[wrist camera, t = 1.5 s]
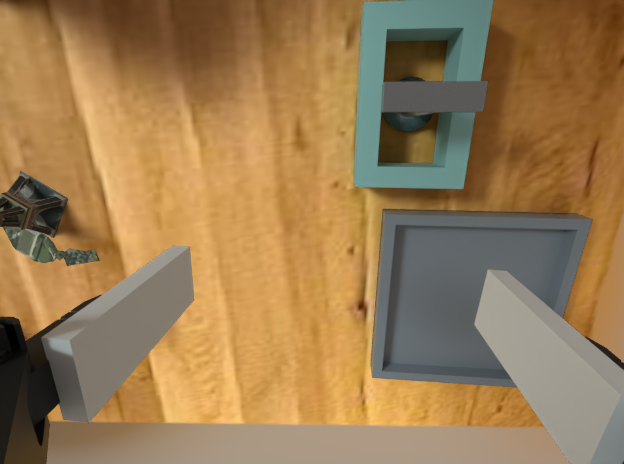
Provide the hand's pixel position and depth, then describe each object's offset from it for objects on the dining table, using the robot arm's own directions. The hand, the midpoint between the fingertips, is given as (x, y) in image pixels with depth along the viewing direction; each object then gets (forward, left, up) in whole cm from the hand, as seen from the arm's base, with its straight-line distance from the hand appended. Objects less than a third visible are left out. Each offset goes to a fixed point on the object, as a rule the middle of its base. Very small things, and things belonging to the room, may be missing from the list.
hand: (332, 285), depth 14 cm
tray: (+10, +14, -18) cm, 25 cm away
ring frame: (-9, +6, -18) cm, 21 cm away
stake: (-9, +6, -18) cm, 21 cm away
